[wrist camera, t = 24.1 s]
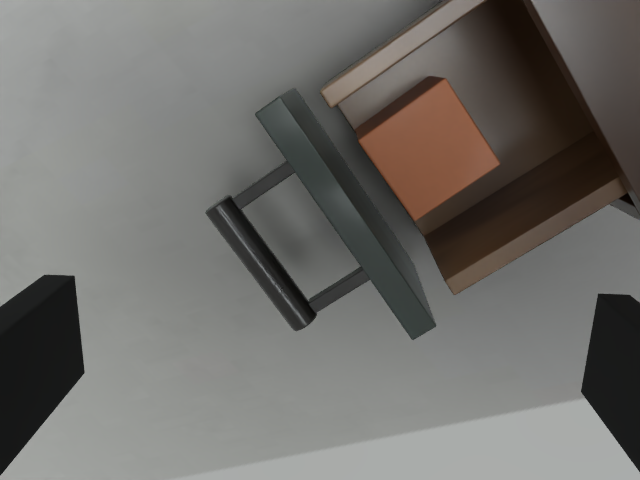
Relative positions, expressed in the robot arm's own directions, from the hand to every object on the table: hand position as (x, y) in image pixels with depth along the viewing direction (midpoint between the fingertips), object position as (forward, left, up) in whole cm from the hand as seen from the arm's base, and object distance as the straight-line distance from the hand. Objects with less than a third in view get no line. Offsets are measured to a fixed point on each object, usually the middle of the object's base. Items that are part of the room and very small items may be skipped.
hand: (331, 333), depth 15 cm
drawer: (0, -4, -17) cm, 18 cm away
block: (0, -5, -16) cm, 17 cm away
